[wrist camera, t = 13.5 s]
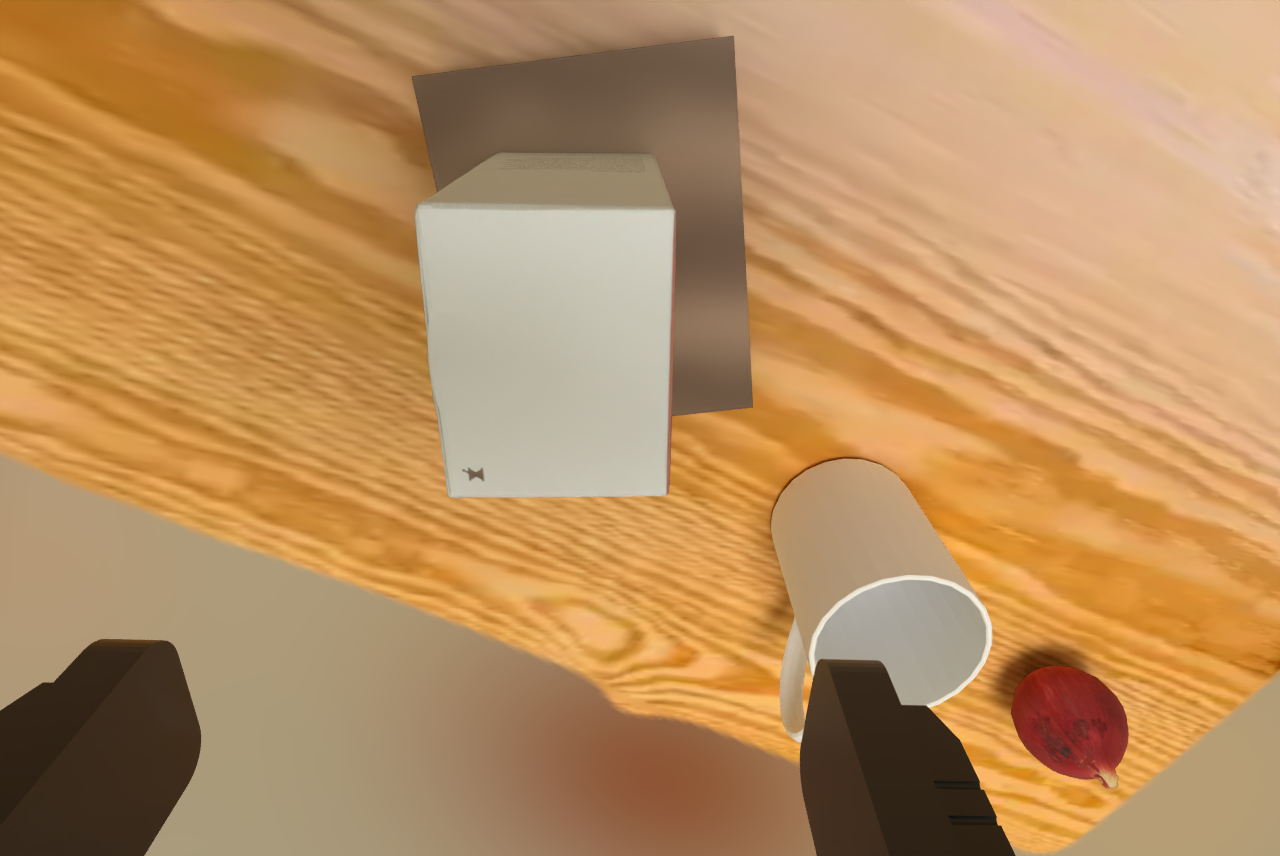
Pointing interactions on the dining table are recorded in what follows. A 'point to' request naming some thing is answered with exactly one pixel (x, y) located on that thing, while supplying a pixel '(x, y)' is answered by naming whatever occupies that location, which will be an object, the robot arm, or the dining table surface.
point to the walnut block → (630, 124)
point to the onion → (1071, 723)
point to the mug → (872, 587)
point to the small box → (552, 325)
